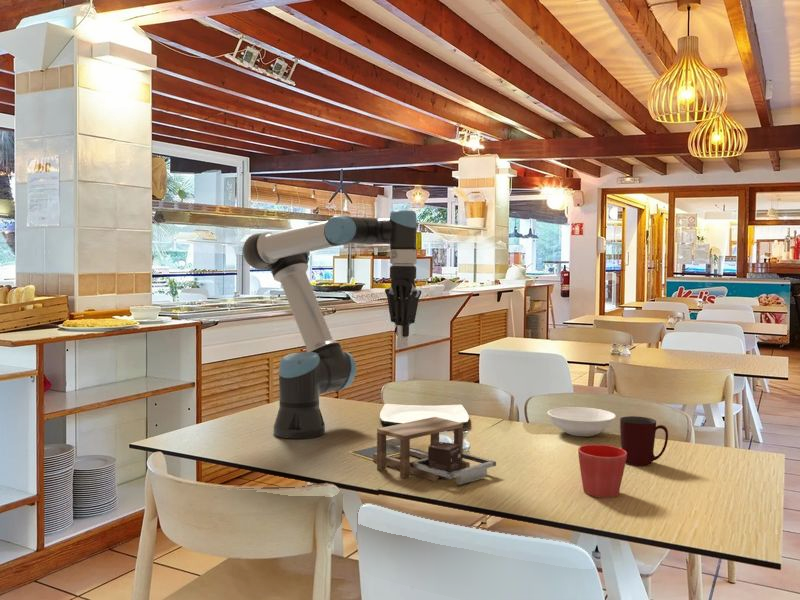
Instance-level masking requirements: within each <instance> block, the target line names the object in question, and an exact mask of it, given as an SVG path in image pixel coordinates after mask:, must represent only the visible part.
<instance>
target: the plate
mask: <svg viewBox="0 0 800 600" xmlns="http://www.w3.org/2000/svg"><path fill="white" fill-rule="evenodd" d="M432 417H438V418H442V419H447V420H451V421H455V422H459V423H463V426H465V425H466V424H468V422H469V420H470V416H469V414H468V412H467V410H466V408H465V407H464V406H463V404H444V405H443V404H441V405H420V404H419V405H412V404H395V403H385V404H384V405H383V407H382V408H381V410H380V412H379V419H380V420H381V422H382V423H383V424H385V425H388V426H393V425H397V424H402V423H407V422H412V421H417V420H422V419H427V418H432Z"/></svg>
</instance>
